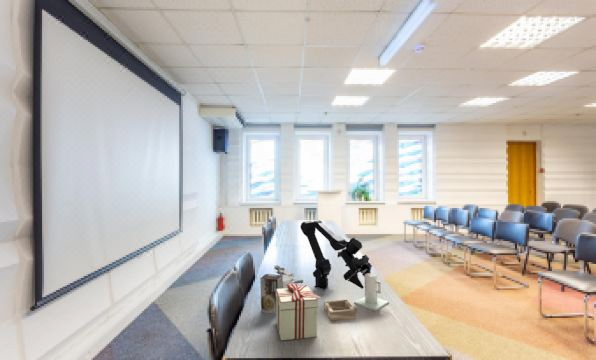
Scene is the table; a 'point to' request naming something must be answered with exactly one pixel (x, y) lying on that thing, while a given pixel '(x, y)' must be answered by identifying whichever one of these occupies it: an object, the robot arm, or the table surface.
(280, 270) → the gun
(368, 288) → the white tall cylinder
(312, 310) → the gift box
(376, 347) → the table surface
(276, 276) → the coffee box
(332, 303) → the collar
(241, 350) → the table surface
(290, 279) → the white cup
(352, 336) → the table surface
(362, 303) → the pad
